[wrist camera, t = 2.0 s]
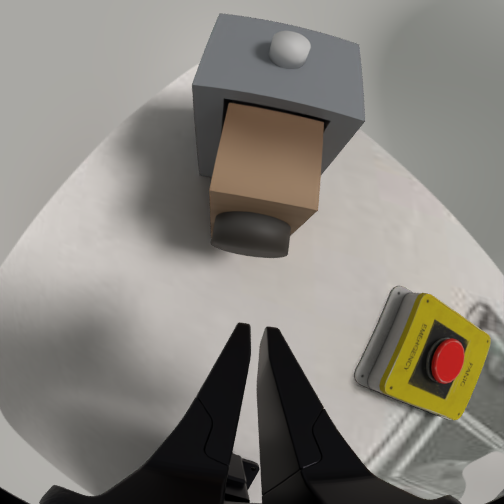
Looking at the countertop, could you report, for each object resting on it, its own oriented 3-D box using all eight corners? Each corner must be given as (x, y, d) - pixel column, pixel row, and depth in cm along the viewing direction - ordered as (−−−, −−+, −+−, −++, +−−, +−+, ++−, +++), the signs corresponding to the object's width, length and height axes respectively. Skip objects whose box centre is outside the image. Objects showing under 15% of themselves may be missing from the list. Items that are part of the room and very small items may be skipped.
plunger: (273, 268, 24) (314, 241, 14) (207, 257, 23) (202, 222, 13) (283, 188, 25) (323, 122, 15) (222, 177, 24) (229, 102, 14)
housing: (305, 194, 25) (375, 109, 13) (199, 175, 24) (191, 68, 12) (310, 130, 26) (365, 32, 14) (214, 111, 26) (220, -1, 13)
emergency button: (420, 277, 21) (511, 343, 22) (392, 282, 25) (483, 341, 26) (371, 391, 19) (476, 430, 20) (347, 379, 24) (450, 420, 24)
